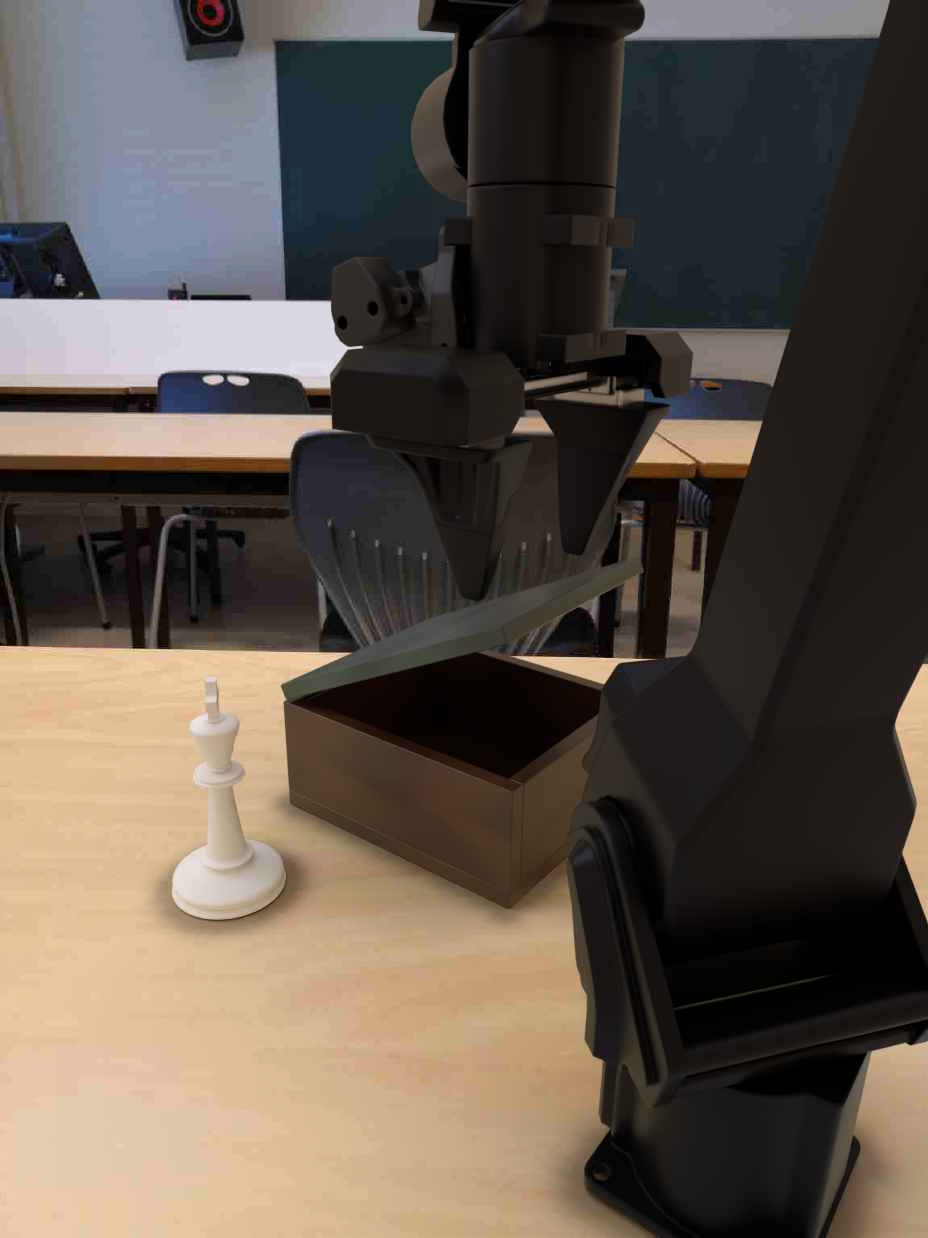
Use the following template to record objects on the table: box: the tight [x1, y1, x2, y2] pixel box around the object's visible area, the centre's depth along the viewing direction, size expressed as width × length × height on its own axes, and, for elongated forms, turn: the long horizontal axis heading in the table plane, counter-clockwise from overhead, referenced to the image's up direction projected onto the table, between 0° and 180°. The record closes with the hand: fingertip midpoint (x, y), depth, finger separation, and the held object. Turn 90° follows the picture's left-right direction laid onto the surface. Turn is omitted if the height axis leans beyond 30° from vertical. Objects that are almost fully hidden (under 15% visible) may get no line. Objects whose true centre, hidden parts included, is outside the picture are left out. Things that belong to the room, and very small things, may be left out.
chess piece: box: [171, 676, 287, 920], centre depth 40 cm, size 5×5×10 cm
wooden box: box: [283, 649, 605, 909], centre depth 47 cm, size 14×12×6 cm
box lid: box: [280, 556, 645, 700], centre depth 45 cm, size 14×12×1 cm
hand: (526, 574), depth 42 cm, fingers open, 8 cm apart
